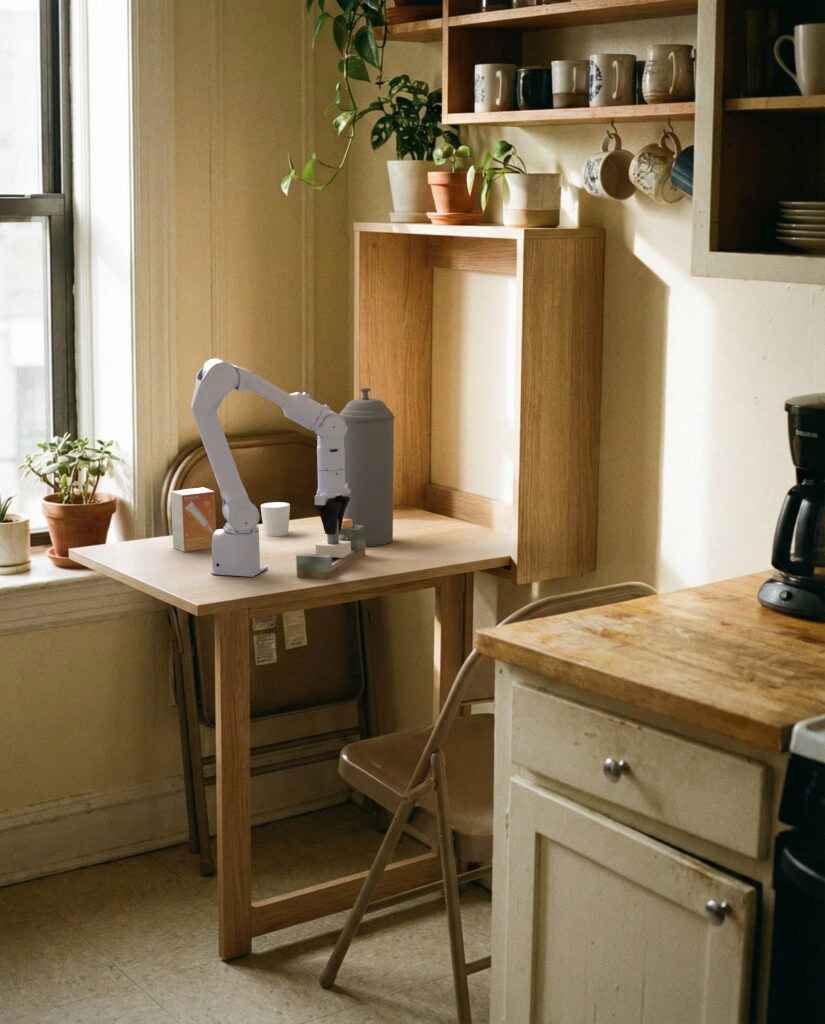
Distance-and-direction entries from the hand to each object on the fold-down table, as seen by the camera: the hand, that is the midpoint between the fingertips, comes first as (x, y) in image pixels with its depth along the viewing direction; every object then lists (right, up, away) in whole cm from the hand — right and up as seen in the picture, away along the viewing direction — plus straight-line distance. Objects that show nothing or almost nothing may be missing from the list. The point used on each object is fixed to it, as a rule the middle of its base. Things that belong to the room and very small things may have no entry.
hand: (332, 532), depth 285 cm
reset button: (+2, 0, +8) cm, 8 cm away
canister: (+7, -3, +22) cm, 23 cm away
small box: (-32, -4, +19) cm, 37 cm away
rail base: (0, -7, +1) cm, 7 cm away
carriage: (0, -5, +1) cm, 5 cm away
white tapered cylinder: (-15, -1, +32) cm, 35 cm away
